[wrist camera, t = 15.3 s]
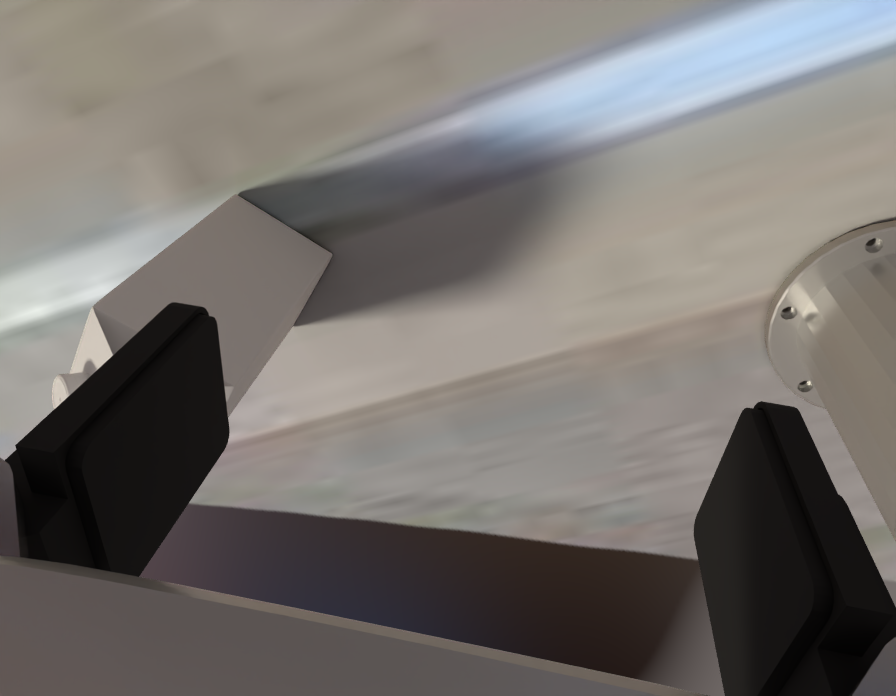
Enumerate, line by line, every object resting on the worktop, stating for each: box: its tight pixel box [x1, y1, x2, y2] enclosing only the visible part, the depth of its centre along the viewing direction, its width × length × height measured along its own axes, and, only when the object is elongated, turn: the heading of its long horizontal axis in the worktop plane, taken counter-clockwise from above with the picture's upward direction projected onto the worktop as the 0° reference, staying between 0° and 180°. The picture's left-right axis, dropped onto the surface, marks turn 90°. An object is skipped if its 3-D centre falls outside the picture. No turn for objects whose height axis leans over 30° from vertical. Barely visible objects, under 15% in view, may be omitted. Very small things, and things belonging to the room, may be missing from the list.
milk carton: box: [52, 194, 332, 417], centre depth 36 cm, size 7×7×19 cm
